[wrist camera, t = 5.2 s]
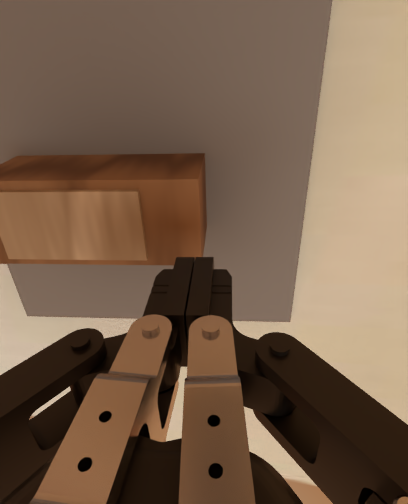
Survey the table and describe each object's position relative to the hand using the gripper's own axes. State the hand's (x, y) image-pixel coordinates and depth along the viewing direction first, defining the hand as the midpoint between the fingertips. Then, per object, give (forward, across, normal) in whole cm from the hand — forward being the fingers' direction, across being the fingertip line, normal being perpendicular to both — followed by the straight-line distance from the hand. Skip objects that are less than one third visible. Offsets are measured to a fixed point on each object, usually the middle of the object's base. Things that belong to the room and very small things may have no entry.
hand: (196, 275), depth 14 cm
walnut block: (+7, 0, 0) cm, 7 cm away
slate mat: (+10, +5, 0) cm, 11 cm away
